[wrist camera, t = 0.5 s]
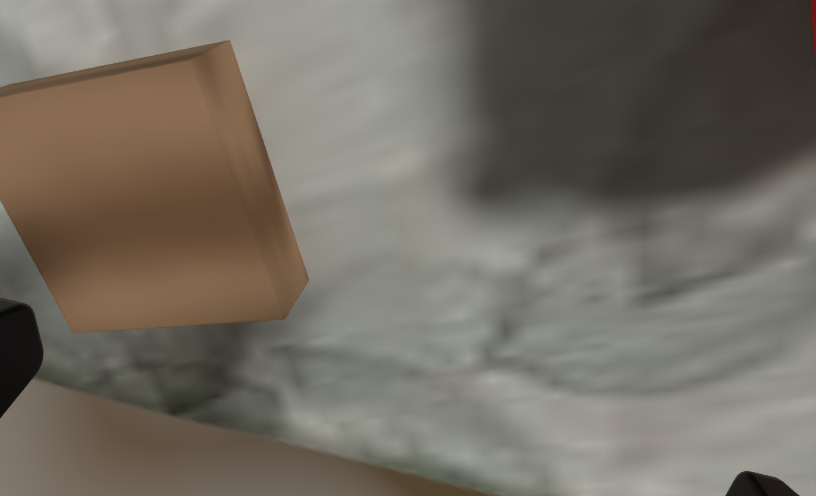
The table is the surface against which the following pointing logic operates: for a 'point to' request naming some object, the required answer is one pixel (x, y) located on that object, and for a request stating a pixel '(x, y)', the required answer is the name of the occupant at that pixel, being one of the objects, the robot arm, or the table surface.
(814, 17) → the mushroom
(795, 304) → the table surface
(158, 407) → the table surface
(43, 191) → the pedestal
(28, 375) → the robot arm
